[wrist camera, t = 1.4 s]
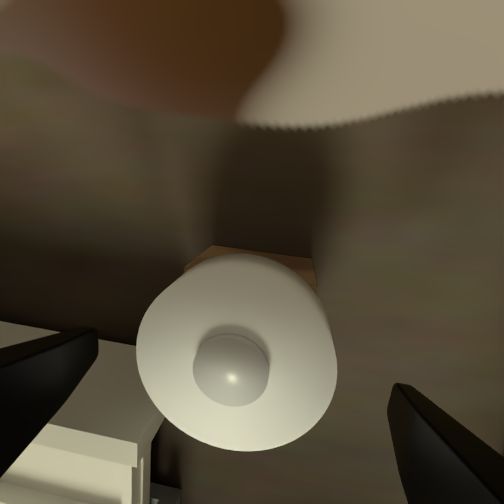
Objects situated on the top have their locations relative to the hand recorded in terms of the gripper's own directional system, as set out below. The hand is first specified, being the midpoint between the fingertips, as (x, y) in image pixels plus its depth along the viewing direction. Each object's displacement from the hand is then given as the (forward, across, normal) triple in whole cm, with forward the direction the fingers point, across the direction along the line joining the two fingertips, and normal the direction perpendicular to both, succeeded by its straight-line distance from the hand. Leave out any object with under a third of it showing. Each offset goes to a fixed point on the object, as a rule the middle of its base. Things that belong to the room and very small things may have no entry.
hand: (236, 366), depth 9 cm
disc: (+2, 0, 0) cm, 2 cm away
